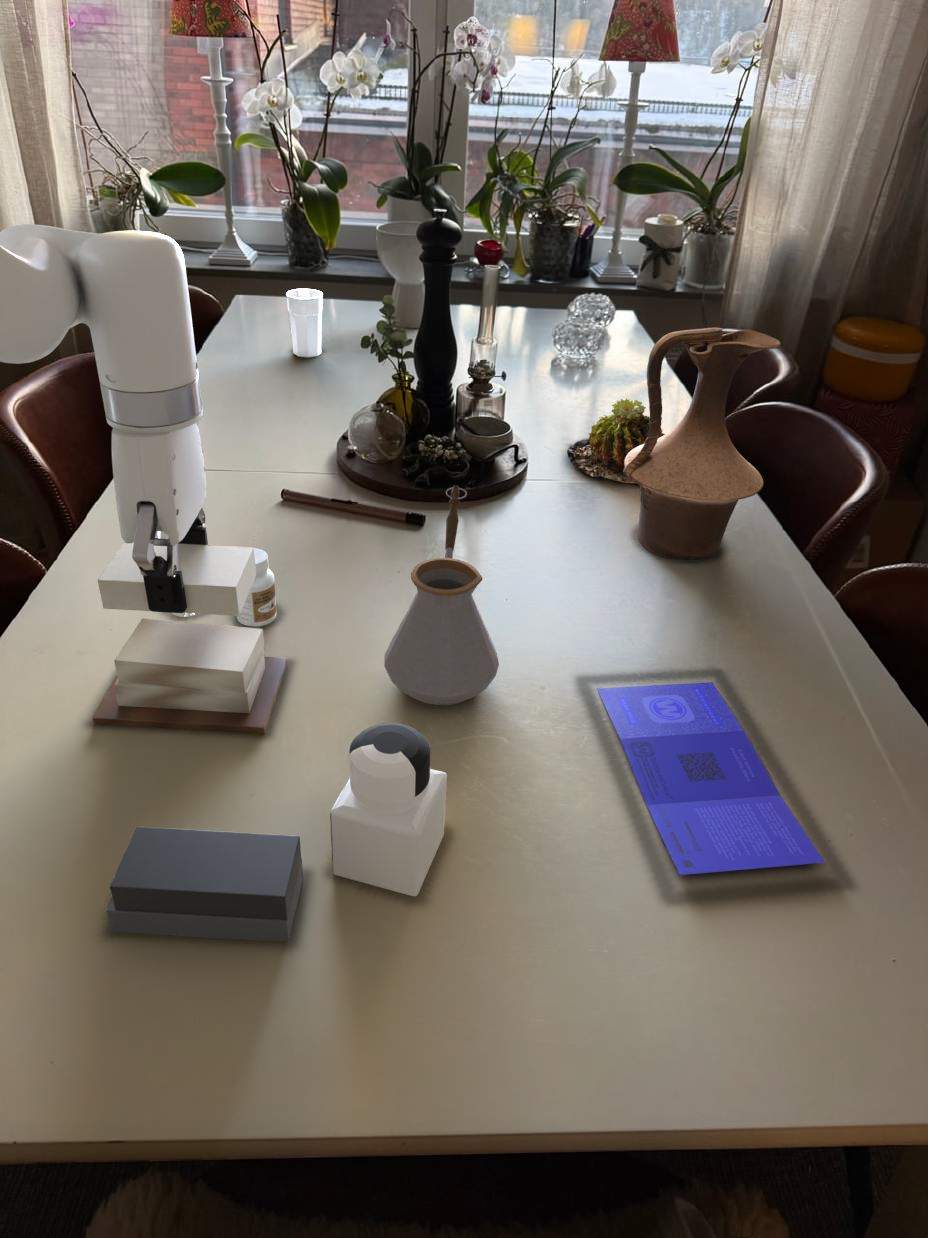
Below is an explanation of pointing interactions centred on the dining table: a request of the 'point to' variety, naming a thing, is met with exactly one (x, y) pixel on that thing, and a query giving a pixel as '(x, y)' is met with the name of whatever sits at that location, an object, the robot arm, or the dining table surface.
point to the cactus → (612, 441)
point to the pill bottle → (260, 595)
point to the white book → (185, 578)
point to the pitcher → (694, 450)
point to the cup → (305, 321)
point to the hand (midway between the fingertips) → (181, 585)
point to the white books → (193, 679)
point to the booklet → (704, 780)
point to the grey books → (207, 884)
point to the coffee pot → (443, 630)
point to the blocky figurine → (389, 810)
